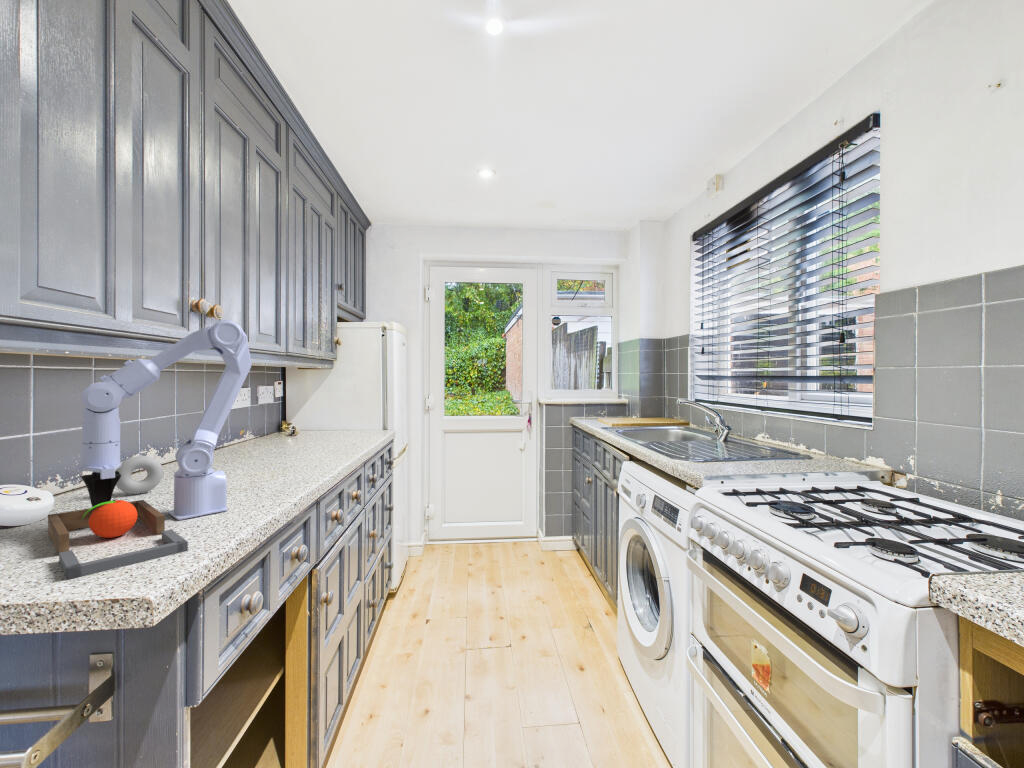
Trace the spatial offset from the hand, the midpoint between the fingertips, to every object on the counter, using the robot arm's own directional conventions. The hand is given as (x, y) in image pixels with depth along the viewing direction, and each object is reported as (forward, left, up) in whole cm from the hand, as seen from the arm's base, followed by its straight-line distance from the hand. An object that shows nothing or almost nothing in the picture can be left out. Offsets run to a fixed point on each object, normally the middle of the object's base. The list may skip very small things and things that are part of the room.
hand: (100, 509), depth 89 cm
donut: (-11, -27, -4) cm, 29 cm away
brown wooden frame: (0, +6, -4) cm, 7 cm away
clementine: (0, +9, -4) cm, 10 cm away
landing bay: (0, +23, -4) cm, 23 cm away
